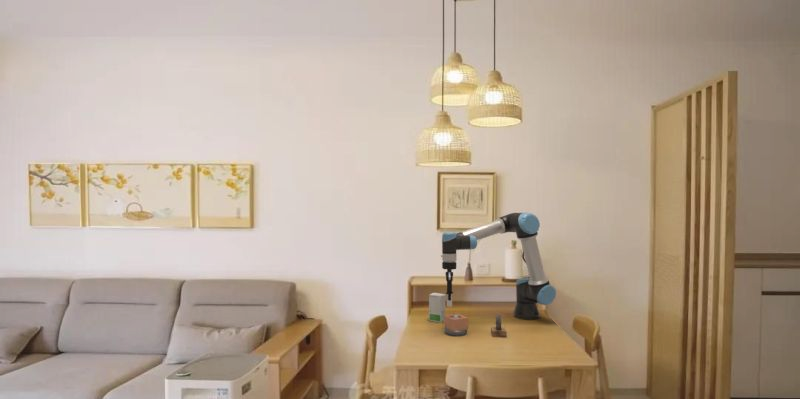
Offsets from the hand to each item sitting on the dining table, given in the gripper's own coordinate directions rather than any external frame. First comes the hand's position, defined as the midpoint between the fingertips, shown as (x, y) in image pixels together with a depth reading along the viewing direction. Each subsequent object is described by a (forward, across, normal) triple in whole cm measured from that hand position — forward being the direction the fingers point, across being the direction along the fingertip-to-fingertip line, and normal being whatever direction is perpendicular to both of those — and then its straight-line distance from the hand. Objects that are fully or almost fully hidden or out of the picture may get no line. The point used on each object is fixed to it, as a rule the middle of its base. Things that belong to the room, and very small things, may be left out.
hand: (449, 305), depth 223 cm
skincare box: (+14, -24, -7) cm, 29 cm away
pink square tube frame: (+12, 0, +3) cm, 12 cm away
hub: (+14, 0, +3) cm, 14 cm away
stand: (+14, +2, +25) cm, 29 cm away
